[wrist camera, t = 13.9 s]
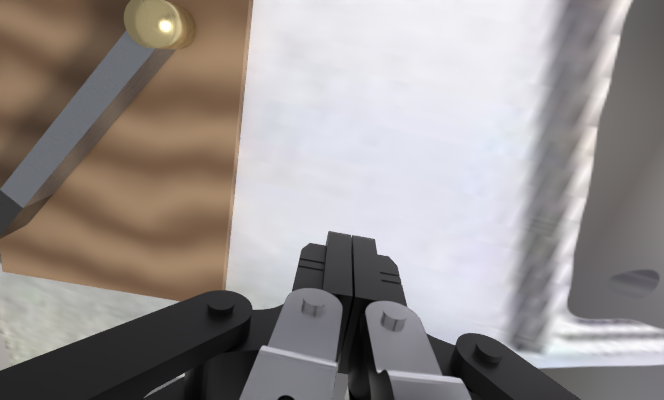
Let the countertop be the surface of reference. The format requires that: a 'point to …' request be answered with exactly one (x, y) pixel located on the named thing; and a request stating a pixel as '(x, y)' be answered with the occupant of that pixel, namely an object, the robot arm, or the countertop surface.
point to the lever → (96, 106)
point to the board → (127, 149)
